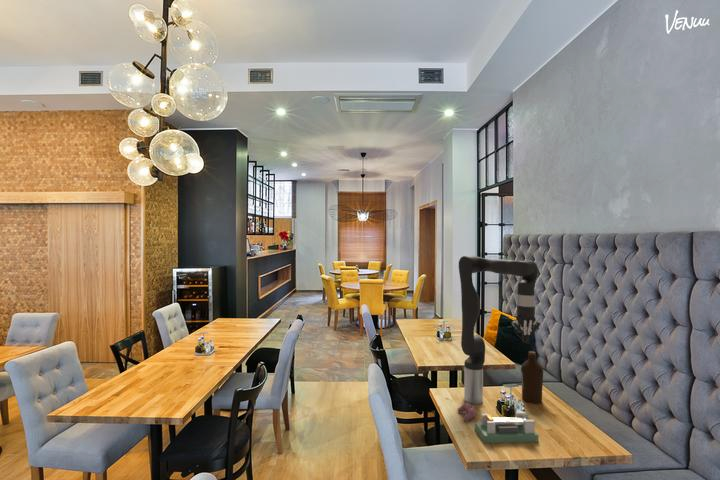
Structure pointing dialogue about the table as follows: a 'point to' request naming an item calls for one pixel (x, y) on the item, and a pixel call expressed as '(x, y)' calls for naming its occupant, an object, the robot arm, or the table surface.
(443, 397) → the table surface
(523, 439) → the clip base
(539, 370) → the olive oil
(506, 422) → the retention strap
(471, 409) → the pink rounded lump
